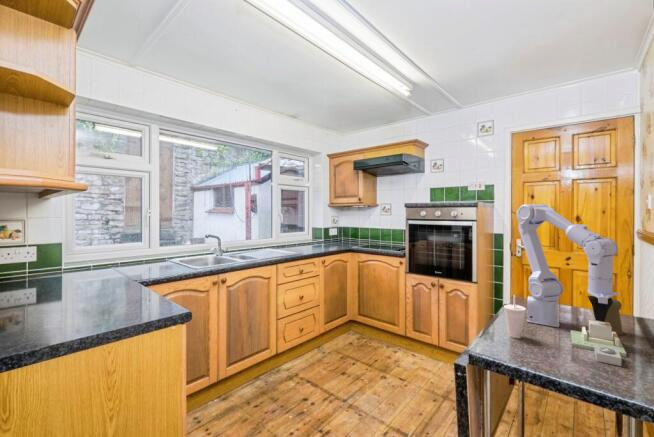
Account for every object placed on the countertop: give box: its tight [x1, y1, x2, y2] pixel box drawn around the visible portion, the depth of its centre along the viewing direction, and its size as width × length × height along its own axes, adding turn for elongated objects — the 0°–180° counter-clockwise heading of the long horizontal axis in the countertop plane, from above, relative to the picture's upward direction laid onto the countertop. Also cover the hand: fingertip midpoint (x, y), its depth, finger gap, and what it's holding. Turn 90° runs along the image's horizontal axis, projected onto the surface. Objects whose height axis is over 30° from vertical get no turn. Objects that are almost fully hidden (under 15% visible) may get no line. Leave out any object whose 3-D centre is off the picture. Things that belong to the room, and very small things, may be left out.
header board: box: [569, 326, 627, 358], centre depth 95 cm, size 12×12×3 cm
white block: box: [588, 319, 612, 341], centre depth 96 cm, size 5×4×5 cm
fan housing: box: [593, 345, 622, 367], centre depth 86 cm, size 5×6×3 cm
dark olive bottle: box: [599, 298, 624, 336], centre depth 104 cm, size 6×6×11 cm
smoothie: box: [503, 294, 527, 339], centre depth 102 cm, size 6×6×14 cm
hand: (599, 320), depth 96 cm, fingers closed
